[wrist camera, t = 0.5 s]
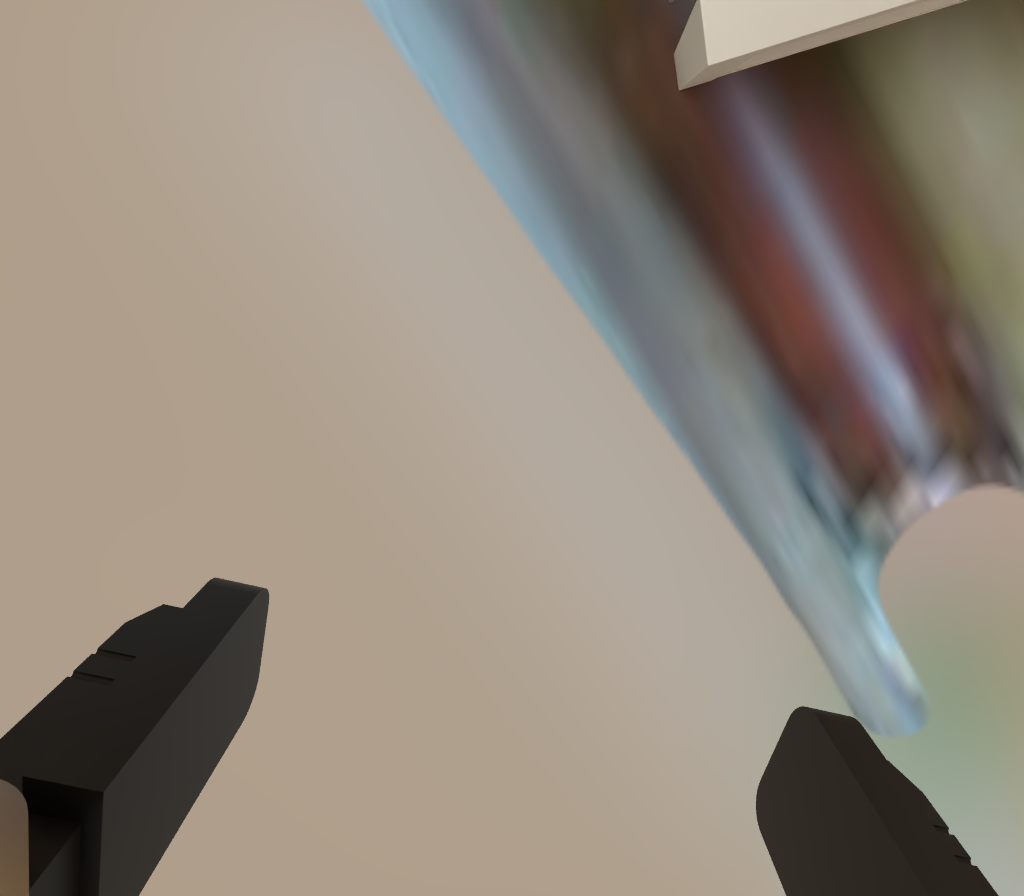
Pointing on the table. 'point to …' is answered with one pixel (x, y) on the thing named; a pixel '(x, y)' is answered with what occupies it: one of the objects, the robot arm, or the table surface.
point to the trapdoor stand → (777, 30)
